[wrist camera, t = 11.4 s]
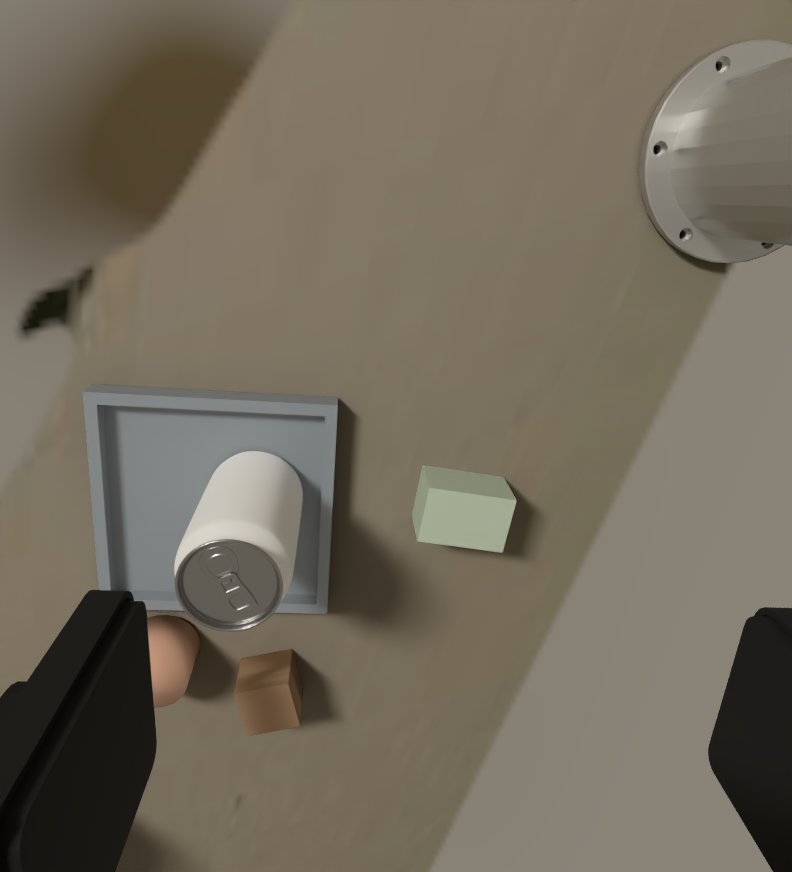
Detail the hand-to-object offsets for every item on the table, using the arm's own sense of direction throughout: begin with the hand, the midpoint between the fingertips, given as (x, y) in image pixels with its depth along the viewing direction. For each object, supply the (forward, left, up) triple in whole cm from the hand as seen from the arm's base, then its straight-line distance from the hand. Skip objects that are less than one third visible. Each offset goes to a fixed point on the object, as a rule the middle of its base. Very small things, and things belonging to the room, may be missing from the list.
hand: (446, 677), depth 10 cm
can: (+7, +13, -35) cm, 38 cm away
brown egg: (+14, +26, -35) cm, 46 cm away
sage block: (-7, +13, -35) cm, 38 cm away
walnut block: (+6, +29, -35) cm, 46 cm away
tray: (+10, +14, -35) cm, 39 cm away
